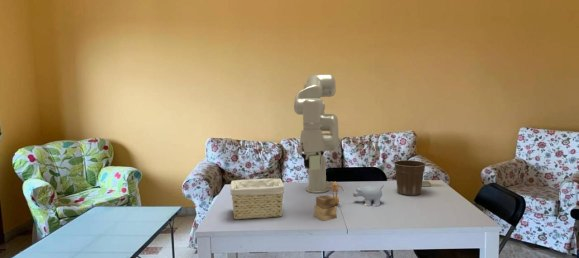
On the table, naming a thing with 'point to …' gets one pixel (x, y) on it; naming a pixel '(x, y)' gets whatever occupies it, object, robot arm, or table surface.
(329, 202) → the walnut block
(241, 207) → the storage basket
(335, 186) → the figurine
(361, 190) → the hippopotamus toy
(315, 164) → the sage block
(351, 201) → the table surface
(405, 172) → the plant pot
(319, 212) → the oak block
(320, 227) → the table surface
